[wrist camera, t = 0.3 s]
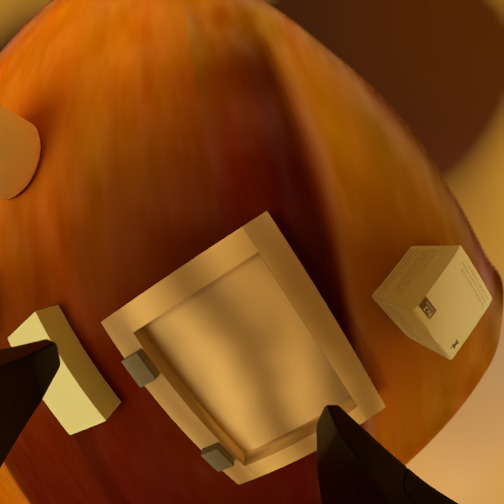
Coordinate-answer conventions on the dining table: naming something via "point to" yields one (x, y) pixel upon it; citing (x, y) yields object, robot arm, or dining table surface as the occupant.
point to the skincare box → (434, 297)
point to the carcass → (243, 353)
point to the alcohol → (17, 153)
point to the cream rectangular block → (69, 373)
